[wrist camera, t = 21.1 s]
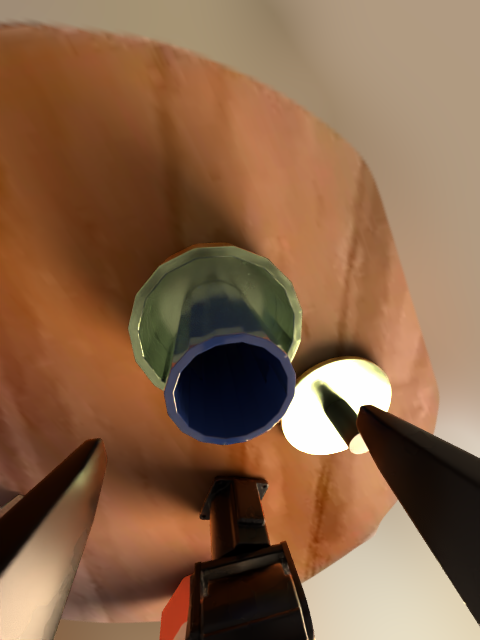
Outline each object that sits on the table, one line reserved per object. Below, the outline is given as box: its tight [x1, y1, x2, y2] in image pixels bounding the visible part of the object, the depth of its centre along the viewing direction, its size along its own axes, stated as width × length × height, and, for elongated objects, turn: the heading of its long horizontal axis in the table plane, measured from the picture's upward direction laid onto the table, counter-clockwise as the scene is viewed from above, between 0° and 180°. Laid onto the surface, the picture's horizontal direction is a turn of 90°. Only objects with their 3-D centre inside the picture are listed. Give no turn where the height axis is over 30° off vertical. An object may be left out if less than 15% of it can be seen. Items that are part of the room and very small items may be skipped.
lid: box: [280, 356, 391, 454], centre depth 23 cm, size 12×12×5 cm
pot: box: [128, 242, 302, 391], centre depth 18 cm, size 11×11×4 cm
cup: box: [164, 282, 296, 445], centre depth 15 cm, size 6×6×10 cm
